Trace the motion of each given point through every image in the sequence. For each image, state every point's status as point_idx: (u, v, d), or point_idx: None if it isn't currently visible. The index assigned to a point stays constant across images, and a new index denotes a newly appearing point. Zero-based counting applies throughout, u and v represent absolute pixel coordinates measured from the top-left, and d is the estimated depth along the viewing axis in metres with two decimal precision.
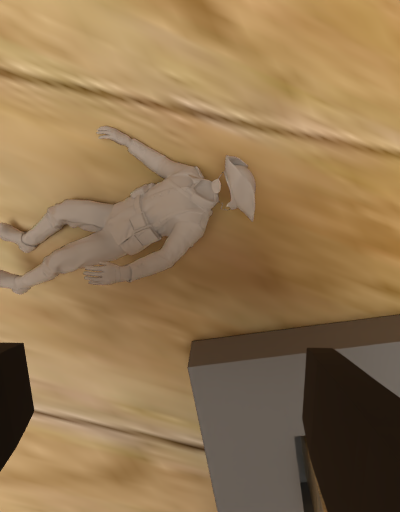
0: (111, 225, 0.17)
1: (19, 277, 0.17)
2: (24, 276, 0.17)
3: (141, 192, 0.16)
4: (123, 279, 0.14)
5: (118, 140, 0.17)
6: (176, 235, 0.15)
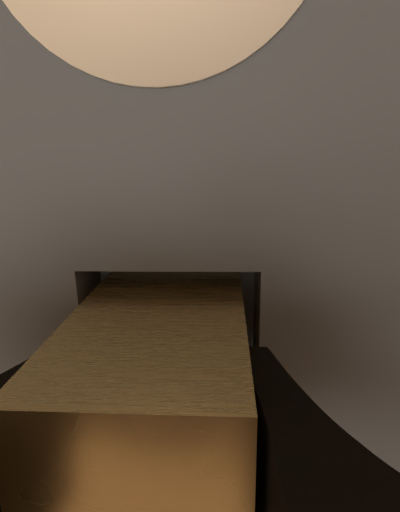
0: None
1: None
2: None
3: None
4: None
5: None
6: None
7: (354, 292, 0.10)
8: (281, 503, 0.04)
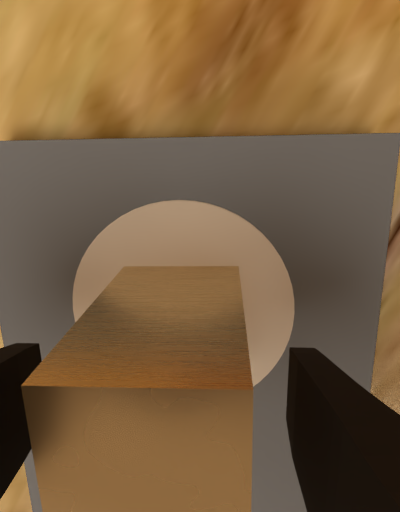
0: None
1: None
2: None
3: None
4: None
5: None
6: None
7: (304, 509, 0.16)
8: (386, 508, 0.04)
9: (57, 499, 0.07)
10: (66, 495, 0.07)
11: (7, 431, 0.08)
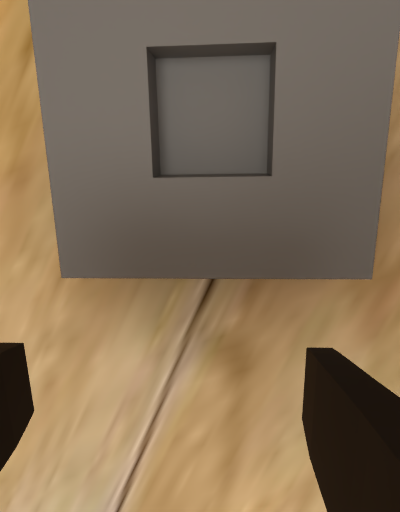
0: None
1: None
2: None
3: None
4: None
5: None
6: None
7: (340, 55, 0.14)
8: None
9: None
10: None
11: None
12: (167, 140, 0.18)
